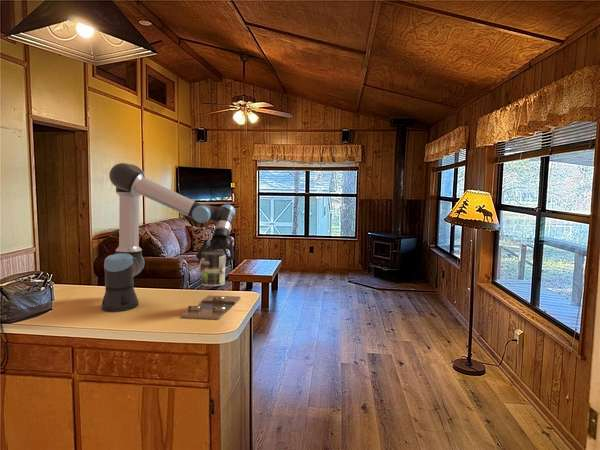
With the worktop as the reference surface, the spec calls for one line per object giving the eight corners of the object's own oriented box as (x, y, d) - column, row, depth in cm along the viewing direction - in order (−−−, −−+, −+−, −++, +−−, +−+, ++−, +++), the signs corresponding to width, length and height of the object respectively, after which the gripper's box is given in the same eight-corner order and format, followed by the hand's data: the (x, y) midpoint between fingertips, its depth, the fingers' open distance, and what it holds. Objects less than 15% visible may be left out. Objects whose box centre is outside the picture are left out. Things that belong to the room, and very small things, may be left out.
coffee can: (209, 287, 170) (208, 255, 169) (197, 283, 178) (196, 252, 177) (229, 283, 177) (229, 252, 176) (217, 280, 185) (217, 250, 184)
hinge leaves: (181, 317, 164) (181, 311, 164) (208, 297, 195) (208, 292, 195) (219, 319, 162) (218, 312, 162) (240, 298, 193) (240, 293, 192)
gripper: (246, 237, 190) (237, 277, 175) (201, 237, 193) (189, 275, 178) (243, 227, 184) (234, 267, 170) (196, 227, 187) (183, 266, 173)
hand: (211, 271), depth 174 cm, fingers closed on coffee can, 10 cm apart
